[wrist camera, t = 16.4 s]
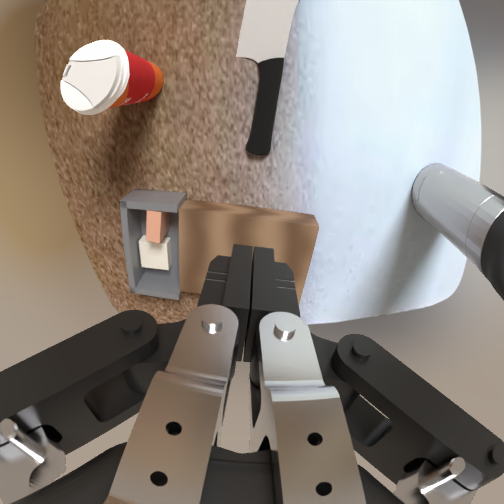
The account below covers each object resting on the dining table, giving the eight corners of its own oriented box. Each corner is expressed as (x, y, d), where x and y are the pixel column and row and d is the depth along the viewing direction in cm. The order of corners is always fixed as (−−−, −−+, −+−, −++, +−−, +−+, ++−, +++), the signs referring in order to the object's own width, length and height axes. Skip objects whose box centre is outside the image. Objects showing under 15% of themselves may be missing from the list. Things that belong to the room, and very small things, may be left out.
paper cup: (112, 99, 30) (47, 105, 18) (134, 50, 27) (75, 32, 14) (157, 117, 32) (103, 126, 19) (182, 66, 28) (138, 47, 16)
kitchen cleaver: (243, -51, 18) (318, -43, 18) (245, -45, 19) (317, -37, 19) (202, 146, 33) (278, 159, 33) (206, 144, 35) (279, 157, 34)
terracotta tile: (161, 212, 33) (146, 209, 33) (159, 243, 35) (146, 240, 35) (171, 200, 37) (158, 198, 37) (169, 229, 39) (156, 226, 39)
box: (186, 192, 37) (176, 205, 33) (185, 281, 44) (178, 300, 40) (134, 189, 37) (119, 200, 32) (141, 274, 44) (130, 292, 40)
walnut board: (313, 215, 38) (319, 226, 35) (295, 288, 44) (298, 304, 41) (186, 199, 37) (178, 209, 34) (185, 276, 44) (180, 291, 40)
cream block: (138, 241, 38) (143, 235, 40) (141, 266, 40) (145, 260, 42) (166, 243, 38) (170, 237, 40) (168, 270, 40) (172, 263, 42)
